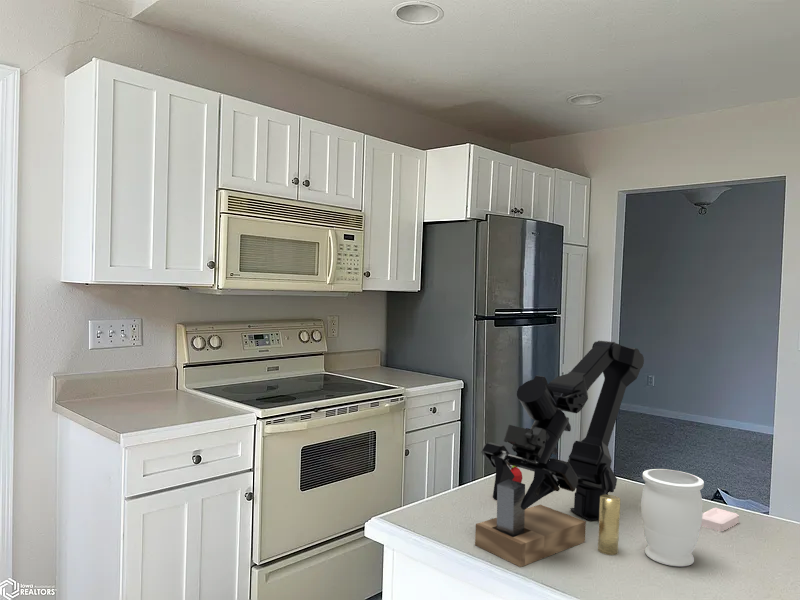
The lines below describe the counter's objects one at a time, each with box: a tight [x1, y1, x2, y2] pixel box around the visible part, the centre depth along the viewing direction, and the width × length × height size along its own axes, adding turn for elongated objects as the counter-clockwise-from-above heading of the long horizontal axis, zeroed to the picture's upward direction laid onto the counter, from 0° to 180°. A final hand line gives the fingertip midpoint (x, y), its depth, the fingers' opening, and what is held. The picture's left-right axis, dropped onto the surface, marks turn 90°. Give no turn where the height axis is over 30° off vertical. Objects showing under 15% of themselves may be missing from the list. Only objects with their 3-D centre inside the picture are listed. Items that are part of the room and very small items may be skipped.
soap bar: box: [701, 507, 740, 532], centre depth 131 cm, size 5×9×2 cm, turn 130°
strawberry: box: [511, 466, 523, 483], centre depth 141 cm, size 6×8×10 cm
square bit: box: [496, 479, 526, 537], centre depth 113 cm, size 4×4×12 cm
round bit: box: [597, 494, 621, 556], centre depth 115 cm, size 4×4×10 cm
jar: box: [640, 468, 705, 567], centre depth 113 cm, size 11×10×15 cm
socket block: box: [474, 504, 587, 568], centre depth 117 cm, size 19×11×4 cm, turn 129°
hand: (507, 503), depth 112 cm, fingers open, 6 cm apart
